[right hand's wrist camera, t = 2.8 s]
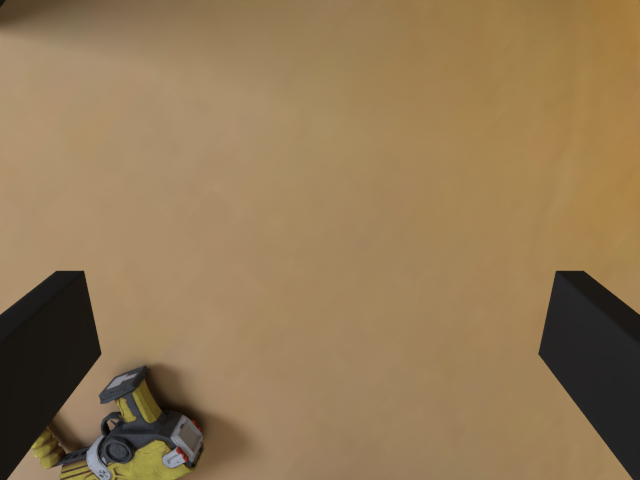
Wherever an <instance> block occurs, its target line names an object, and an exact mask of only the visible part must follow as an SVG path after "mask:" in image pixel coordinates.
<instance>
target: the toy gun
mask: <svg viewBox="0 0 640 480" xmlns="http://www.w3.org/2000/svg"><path fill="white" fill-rule="evenodd" d="M148 370H149V369H148V368H147V367H146V366H142V367H140V368H137V369H134V370H132V371H129V372H126V373H124V374H121V375H119V376H116V377H114V378H113V380H112V381H111V382H110V383H109V384H108V385H107V386H106V388H105V389H104V390H103V391H102V392H101V393H100V395H99V397H100V400H101V401H100V404H104V403H109V402H110V401H112V400H115V403H116V405H117V407H118V408H119V409H120V411H121V412H112V413H110V414H109V415H108V416H106V417H105V418H104V419H103V421H102V424H101V431H102V435H101V436H99V437H98V438H97V439H96V441H95V442H94V443H93V445H92V446H91V447H88V448H84V449H81V450H78V451H75V452H71V453H68V454H66V452H65V451H64V449H63V448H62V447H61V446H58V443H59V441H58V440H57V439H56V438H54V437H52V431H51V430H49V429H47V428H45V430H44V431H43V432H42V434H41V435H40V436H39V438H38V439H37V440H36V442H35V443H34V444H33V446H32V447H31V449H34V455H35V456H36V457H37V458H40V463H41V465H42V466H43V467H44V469H49V468H52V467H55V466H58V465H62V464H63V466H62V470H61V474H60V480H176V479H178V478H180V477H182V476H184V475H186V474H188V473H190V472H192V471H194V470H195V469H196V468H197V465H198V462H199V460H200V458H201V456H202V454H203V451H204V444H203V435H202V433H201V431H202V429H201V427H200V426H197V424H196V421H194V420H190V419H188V418H187V417H186V416H184V415H183V414H182V413H179V412H176V411H172V410H161V409H160V408H159V407H158V406H157V404H156V403H155V401H154V399H153V397H152V396H151V394H150V392H149V389H148V387H147V384H146V382H145V379H144V376H145V374H146V373H147V372H148ZM110 419H118V420H119V421H118V422H117V424H116V423H115V422H113V421H112V420H111V422H112V423H113V424H114V425H116V427H115V428H114V429H113V430H110V429H109V427H108V424H107V421H108V420H110Z"/></svg>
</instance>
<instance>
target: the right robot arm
mask: <svg viewBox="0 0 640 480" xmlns="http://www.w3.org/2000/svg"><path fill="white" fill-rule="evenodd" d="M100 355H101V349H100V345H99V340H98V335H97V330H96V326H95V321H94V316H93V311H92V307H91V302H90V297H89V292H88V288H87V283H86V278H85V273H84V271H56V272H54V273H53V274H52V275H51V276H49V277H48V278H47V279H45V280H44V281H43V282H42V283H40V284H39V285H38V286H37V287H35V288H34V289H33V290H31V291H30V292H29V293H28V294H26V295H25V296H24V297H22V298H21V299H20V300H19V301H17V302H16V303H15V304H14V305H12V306H11V307H10V308H8V309H7V310H6V311H5V312H3V313H2V314H1V315H0V480H7V479H8V477H9V476H10V475H11V473H12V472H13V471H14V470H15V468H16V467H17V466H18V464H19V463H20V462H21V460H22V459H23V458H24V456H25V455H26V454H27V452H28V451H29V450H30V448H31V447H32V446H33V444H34V443H35V442H36V440H37V439H38V438H39V436H40V435H41V434H42V432H43V431H44V430H45V428H46V427H47V426H48V424H49V423H50V422H51V420H52V419H53V418H54V416H55V415H56V414H57V412H58V411H59V410H60V408H61V407H62V406H63V405H64V403H65V402H66V401H67V399H68V398H69V397H70V395H71V394H72V393H73V391H74V390H75V389H76V387H77V386H78V385H79V383H80V382H81V381H82V379H83V378H84V377H85V375H86V374H87V373H88V371H89V370H90V369H91V367H92V366H93V365H94V363H95V362H96V361H97V359H98V358H99V357H100ZM539 355H540V357H541V358H542V359H543V361H544V362H545V363H546V365H547V366H548V367H549V369H550V370H551V371H552V373H553V374H554V375H555V377H556V378H557V379H558V381H559V382H560V383H561V385H562V386H563V387H564V389H565V390H566V391H567V393H568V394H569V395H570V397H571V398H572V399H573V401H574V402H575V403H576V405H577V406H578V407H579V408H580V410H581V411H582V412H583V414H584V415H585V416H586V418H587V419H588V420H589V422H590V423H591V424H592V426H593V427H594V428H595V430H596V431H597V432H598V434H599V435H600V436H601V438H602V439H603V440H604V442H605V443H606V444H607V446H608V447H609V448H610V450H611V451H612V452H613V454H614V455H615V456H616V458H617V459H618V460H619V462H620V463H621V464H622V466H623V467H624V468H625V470H626V471H627V472H628V473H629V475H630V476H631V477H632V479H633V480H640V315H639V314H638V313H637V312H635V311H634V310H633V309H632V308H630V307H629V306H628V305H626V304H625V303H624V302H623V301H621V300H620V299H619V298H618V297H616V296H615V295H614V294H612V293H611V292H610V291H609V290H607V289H606V288H605V287H603V286H602V285H601V284H600V283H598V282H597V281H596V280H595V279H593V278H592V277H591V276H589V275H588V274H587V273H586V272H584V271H556V273H555V278H554V283H553V288H552V292H551V297H550V302H549V307H548V311H547V316H546V321H545V326H544V330H543V335H542V340H541V345H540V349H539Z"/></svg>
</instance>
